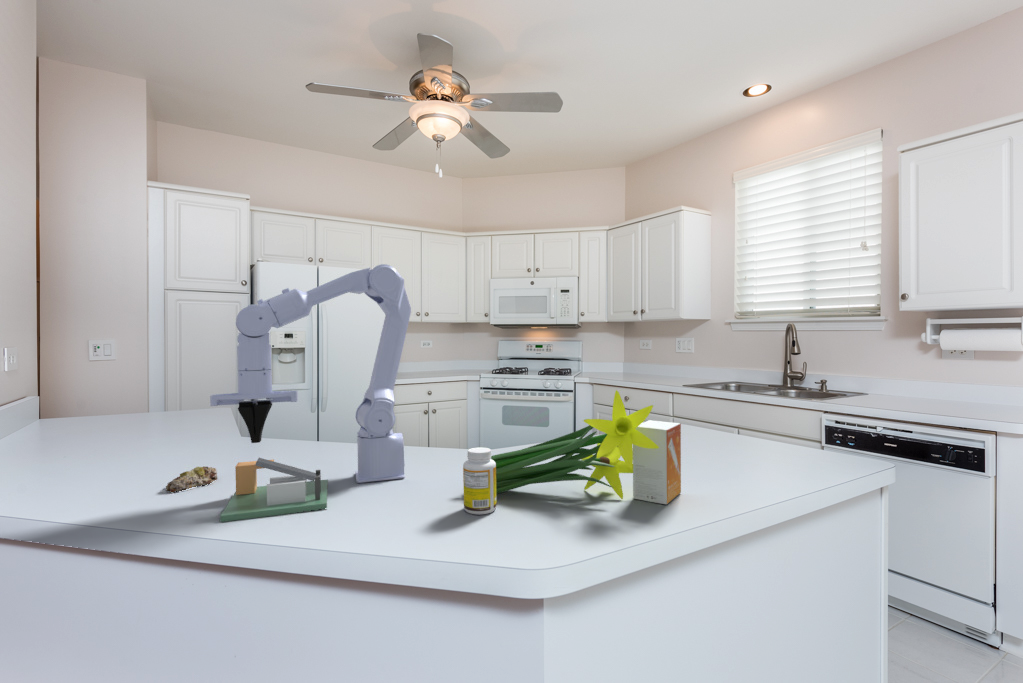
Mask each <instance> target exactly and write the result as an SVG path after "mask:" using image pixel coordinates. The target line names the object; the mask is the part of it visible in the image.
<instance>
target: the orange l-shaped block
mask: <svg viewBox="0 0 1023 683" xmlns="http://www.w3.org/2000/svg"><path fill="white" fill-rule="evenodd" d="M269 460H270V461H274V462H275V459H269ZM256 462H257V460H252V461H250V460H249V461H243V462H242V461H240V462H238V463H237V464H236V465H235V492H236V495H242V494H251V493H255V491H256V489H257V487H258V480H257V479H258V477H257V475H258V474H257V472H258V471H257V470H258V469H259V470H260V469H261V470H262V469H264V468H263V467H259V466H256V465H255V464H256Z"/></svg>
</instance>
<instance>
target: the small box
mask: <svg viewBox="0 0 1023 683" xmlns="http://www.w3.org/2000/svg"><path fill="white" fill-rule="evenodd" d="M681 425H682V424H681V423H680V422H671V421H660V420H653V419H652V420H651V419H649V420H645V421H643V422H642V423H641V424H640V425H639V426H638V427H637V428H636V430H638V431H639V432H641V433H642V434H644V435H645V436H646V437H648V438H649V439H650V440H652V441H653V442H654V443H655V444H656V445H657V446H658V447H659V448H657V449H650V448H643V447H639V446H636V445H634V444H632V448H633V473H632V498H633V499H635V500H641V501H645V502H649V503H656V504H662V505H668V504H669V503H670V502H671V501H673V500H674V499H675V498H676V497H677V496H678V495H680V494H681V493H682V473H681V472H682V470H681V469H682V468H681V467H682V460H681V459H682V455H681V454H682V452H681V450H682V448H681V447H682V446H681V445H682V444H681V443H682V440H681V439H682V433H681V432H682V430H681V429H682V428H681V427H682V426H681Z"/></svg>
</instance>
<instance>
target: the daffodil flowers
mask: <svg viewBox="0 0 1023 683" xmlns="http://www.w3.org/2000/svg"><path fill="white" fill-rule="evenodd" d="M653 408H654V405H653V404H652V405H648V406H645V407H643V408H641V409H639V410H636V411H634V412H632V413H630V414H628V415H627V411H626V407H625V405H624V402H623V399H622V396H621V394H620V392H619V391H618V390H617V389H616V390H615V393H614V397H613V403H612V414H611V419H612V420H611V419H604V418H603V419H602V418H586V419H583V420H582V422H584V423H585V424H586V425H587V426H585V427H583V428H580V429H579V430H575V431H573V432H570V433H567V434H565V435H561V436H558V437H556V438H554V439H550V440H547V441H544V442H541V443H538V444H534V445H531V446H528V447H525V448H521V449H518V450H513V451H508V452H502V453H498V454H495V455H494V454H493V455H491V459H492V460H494V461H495V463H496V495H497V494H500V493H505V492H508V491H512V490H515V489H518V488H522V487H525V486H529V485H532V484H544V483H554V482H566V481H568V482H569V481H586V484H585V486H584V489H583V490H584V491H585V490H588V489H589V488H590V487H592V486H594V485H595V484H596V483H597V484H600V485H601V484H602V485H604V486H607V487H609V488H612V490H613V491H614V492H615V494H616V495H617V496H618V497H619V498H620V499H621V500H623V499H624V493H623V487H622V482H621V478H620V474H633V444H634V445H636V446H639V447H643V448H650V449H657V448H659V447H658V446H657V445H656V444H655V443H654V442H653V441H652V440H650V439H649V438H648V437H646V436H645V435H644V434H642V433H641V432H639V431H638V430H636V428H637V427H638V426H639V425H640V424H641V423H644V422H645V421H646V420H647V418H648V416H650V414H651V412H652V410H653ZM593 429H596V430H598V431H600V432H602V433H603V434H600V435H596V434H597V433H598V432H597V431H593V432H592V433H590V434H588V433H589V432H590V431H591V430H593ZM586 435H587V436H586ZM592 445H596V446H594V447H592V448H590V449H589V448H585V447H590V446H592ZM560 456H561V457H560ZM556 457H558V458H556ZM553 458H556V459H553ZM620 458H622V459H623V460H620ZM549 459H550V461H549V462H544V461H547V460H549ZM551 459H553V460H552V461H551ZM541 462H544V463H541ZM538 463H539V464H538ZM540 463H541V464H540ZM589 466H591V467H593V468H594V469H593V468H591V467H589ZM578 470H589V471H592V470H593V471H592V473H591V475H590V476H586V475H583V474H580V473H575V471H578ZM573 472H574V473H573ZM603 478H605V479H606V481H607V483H606V482H604V481H602V480H601V479H603Z"/></svg>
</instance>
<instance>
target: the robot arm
mask: <svg viewBox="0 0 1023 683" xmlns="http://www.w3.org/2000/svg"><path fill="white" fill-rule="evenodd" d="M348 293H350V294H356V295H361V294H364V295H366V296H367V297H369V298H370V299H371V300H372V301H374V302H375V303H376V304H377V305H378V306H379V307H380V309H381V310H382V312H383V313H384V314H385V316H384V320H383V325H382V330H381V332H380V333H381V334H380V338H379V341H378V342H379V343H378V346H377V352H376V355H375V359H374V360H375V361H374V364H373V368H372V372H371V376H370V377H371V378H370V382H369V385H368V388H367V389H366V392H364V395H363V400H362V401H361V403H360V404H359V405H358V407H357V408H356V411H355V420H356V423H357V424H358V425H359V426H360V428H359V430H358V432H357V433H356V434H357V435H356V440H357V441H356V442H357V470H355V473H354V474H355V479H356V480H355V481H356V483H358V484H360V483H369V482H370V483H371V482H379V481H388V480H398V479H405V477H406V476H405V465H406V464H405V451H404V449H405V444H404V437H403V436H404V435H403V433H402V432H394V431H393V430H394V429H393V428H394V426H395V423H396V415H395V410H394V408H395V395H394V389H395V384H396V380H397V376H398V372H399V371H398V370H399V367H400V362H401V358H402V355H403V349H404V344H405V340H406V336H407V332H408V327H409V322H410V318H411V314H412V307H411V304H410V301H409V297H408V294H407V291H406V287H405V279H404V278H403V276H402V275H401V274H400V272H398V270H397V268H395V267H394V266H392V265H389V264H387V263H385V264H383V263H382V264H378V265H376V266H374V267H373V268H372V269H371V267H367V268H366V267H365V268H363V269H360V270H356V271H351V272H349V273H346V274H345V275H342V276H339V277H337V278H334V279H332V280H330V281H328V282H325V283H324V284H321V285H318V286H316V287H314V288H312V289H309V290H307V291H303V290H300V289H298V288H293V289H291V290H290V288H289V287H286V288H284V289H282V290H281V293H280V294H278V295H274V296H272V297H270V298H268V299H266V300H263V299H262V298H261V299H259V300H256V303H257V304H248V305H246V307H244V308H242V309H241V310H240V311H239V312H238V314H237V315H236V319H235V327H236V328H237V330H238V331H239V332H238V335H237V339H236V340H237V343H238V345H236V357H237V358H236V359H237V360H236V362H237V364H236V365H237V393H236V392H234V393H220V394H219V393H218V394H211V395H210V397H209V398H210V402H209V403H210V407H217V406H231V405H232V406H233V405H234V406H235V405H238V407H237V410H238V412H239V414H240V416H241V418H242V419H243V421H244V423H245V425H246V428H247V431H248V433H249V437H250V442H251V444H256V443H261V441H262V437H263V436H262V435H263V430H264V426H265V423H266V420H267V417H268V415H269V414H270V410H271V408H272V406H273V403H287V402H289V403H296V402H298V396H299V395H298V390H290V391H289V390H279V391H278V390H277V391H276V390H273V375H272V373H273V372H272V371H273V370H272V369H273V368H272V345H271V344H270V330H271V328H275V329H280V328H283V327H285V326H286V325H288V324H291V323H294V322H296V321H298V320H301V319H303V318H305V317H308V316H310V313H311V310H312V309H313V307H314V306H316V305H319V304H321V303H324V302H326V301H329V300H331V299H335V298H337V297H340V296H342V295H345V294H348Z"/></svg>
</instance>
